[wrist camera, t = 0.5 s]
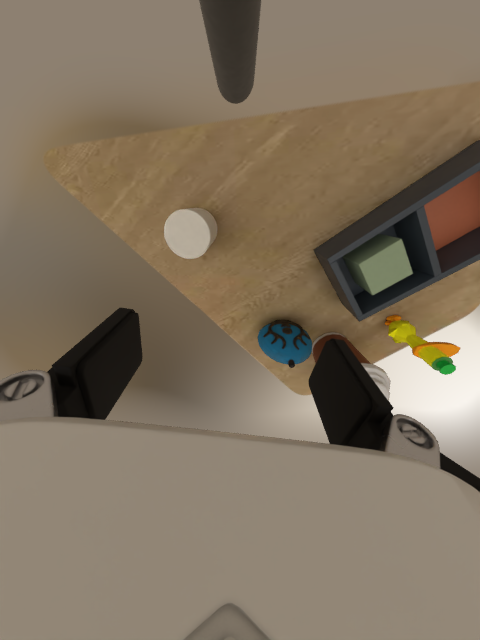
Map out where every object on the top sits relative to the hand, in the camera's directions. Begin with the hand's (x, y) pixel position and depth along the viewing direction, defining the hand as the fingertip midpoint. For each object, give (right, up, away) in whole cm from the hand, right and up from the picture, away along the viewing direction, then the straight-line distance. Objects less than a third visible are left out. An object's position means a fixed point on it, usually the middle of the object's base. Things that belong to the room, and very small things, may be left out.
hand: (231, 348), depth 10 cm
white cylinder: (-5, +14, +18) cm, 23 cm away
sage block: (+18, +10, +19) cm, 28 cm away
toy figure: (+26, +1, +25) cm, 36 cm away
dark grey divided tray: (+22, +13, +18) cm, 31 cm away
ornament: (+7, 0, +26) cm, 27 cm away
